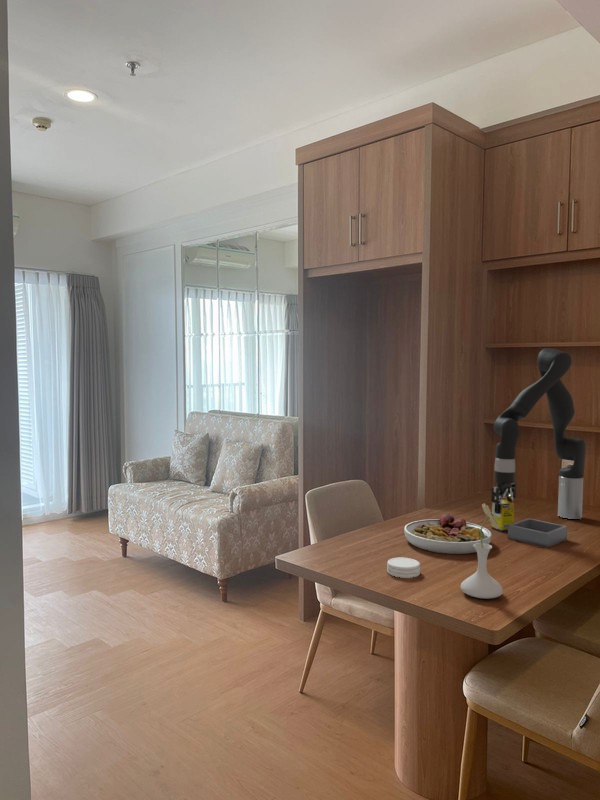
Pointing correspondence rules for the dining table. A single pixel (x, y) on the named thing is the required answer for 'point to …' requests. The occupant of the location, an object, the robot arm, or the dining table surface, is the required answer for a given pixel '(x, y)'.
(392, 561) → the coaster
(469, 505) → the dining table surface
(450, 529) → the bowl
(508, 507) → the supplement box
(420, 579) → the dining table surface
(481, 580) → the flower in vase
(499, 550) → the dining table surface
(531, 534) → the box
